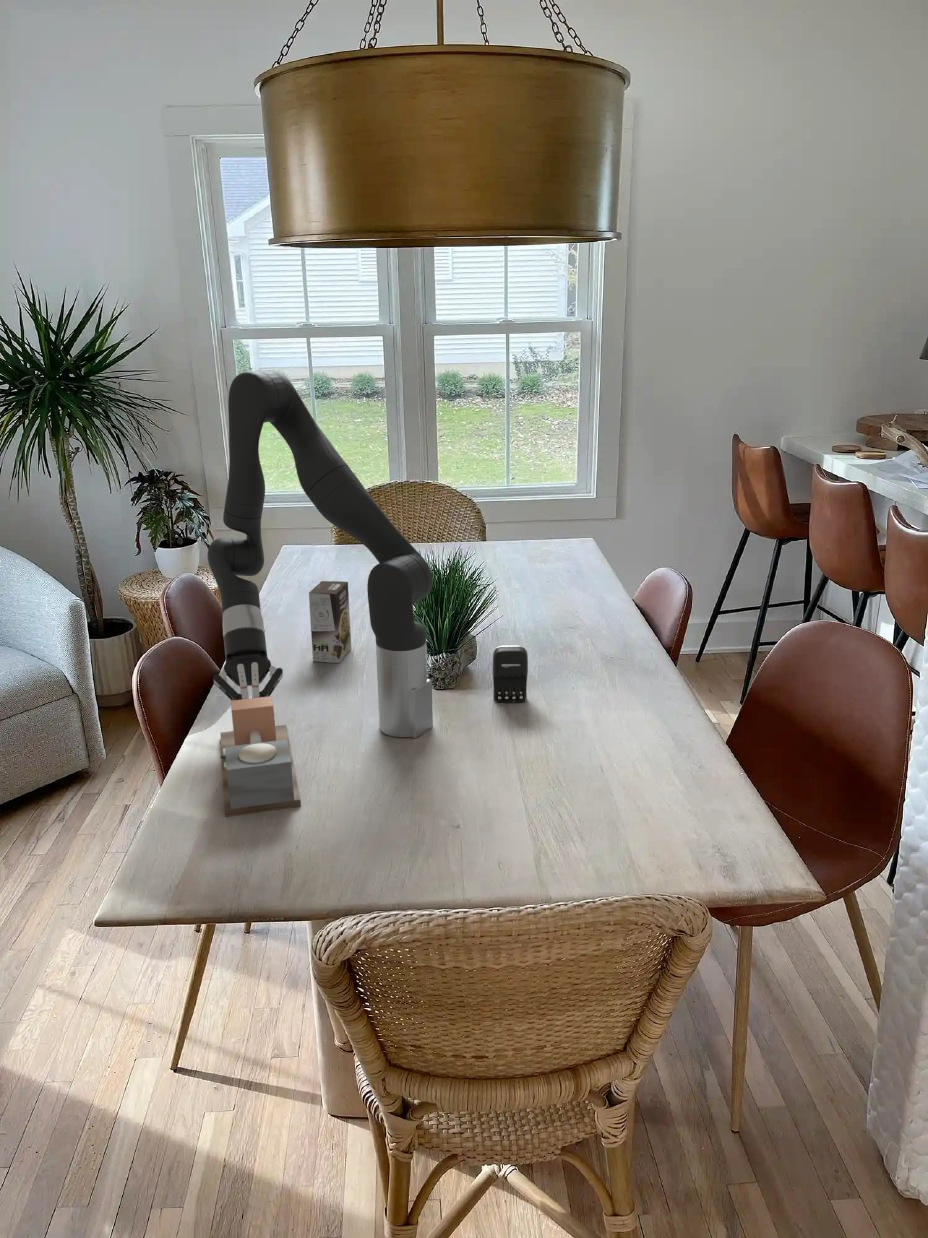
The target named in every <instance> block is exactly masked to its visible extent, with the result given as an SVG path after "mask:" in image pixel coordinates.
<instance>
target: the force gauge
mask: <svg viewBox="0 0 928 1238" xmlns="http://www.w3.org/2000/svg"><path fill="white" fill-rule="evenodd" d="M275 731H276V741H270V742H262V743H253V744H245V745H237V746H235V740H234V731H233V730H230V731H222V732H220V750H221V751H220V752H221V753H220V754H221V756H225V755H226V758H224V759H221V768H222V791H223V795H222V796H223V809H224V810H223V811H224V812H223V813H224V817H230V816H231V817H232V816H238V815H239V816H240V815H246V814H252V813H260V812H266V811H267V812H268V811H274V810H275V811H276V810H283V809H289V808H296V807H297V808H298V807H301V806H302V802H301V795H300V788H299V784H298V781H297V774H296V770H295V763H294V759H293V754H292V749H291V743H290V738H289V733H288V728H287V724H283V725H282V724H280V725H275Z"/></svg>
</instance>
